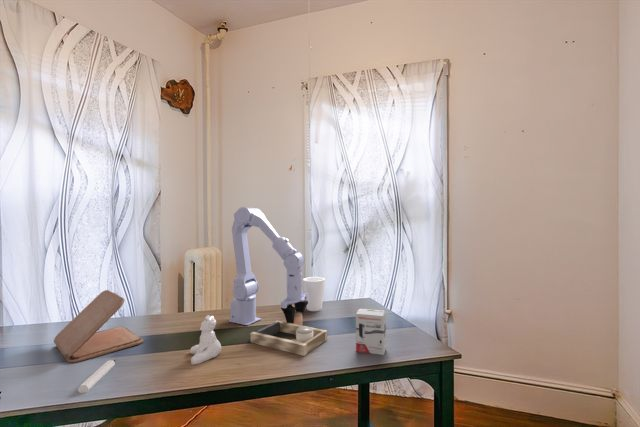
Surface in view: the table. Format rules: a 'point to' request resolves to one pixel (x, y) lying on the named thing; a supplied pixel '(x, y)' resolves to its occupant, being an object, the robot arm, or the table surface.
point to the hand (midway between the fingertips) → (295, 322)
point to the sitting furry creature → (206, 342)
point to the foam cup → (314, 292)
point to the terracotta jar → (298, 318)
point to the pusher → (270, 329)
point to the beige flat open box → (290, 345)
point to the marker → (96, 376)
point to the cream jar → (304, 334)
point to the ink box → (371, 331)
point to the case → (83, 338)
